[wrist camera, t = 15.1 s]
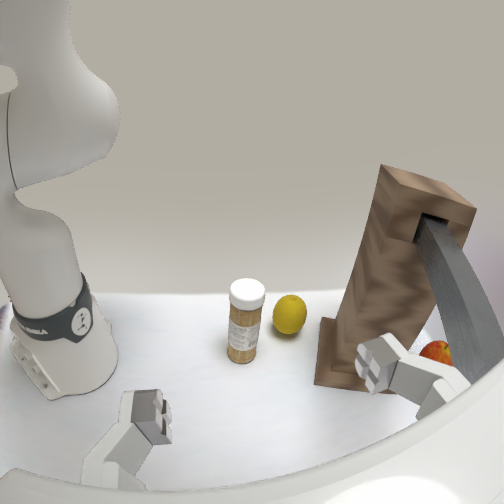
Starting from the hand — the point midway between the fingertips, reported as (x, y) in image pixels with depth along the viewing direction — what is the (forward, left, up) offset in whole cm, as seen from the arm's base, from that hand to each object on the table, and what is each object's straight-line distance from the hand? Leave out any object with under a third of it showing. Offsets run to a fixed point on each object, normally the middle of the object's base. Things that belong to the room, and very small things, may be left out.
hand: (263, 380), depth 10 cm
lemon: (+1, +28, -26) cm, 38 cm away
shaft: (+14, +15, -2) cm, 21 cm away
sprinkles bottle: (-5, +21, -26) cm, 34 cm away
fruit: (+28, +23, -26) cm, 45 cm away
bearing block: (+14, +25, -26) cm, 39 cm away
